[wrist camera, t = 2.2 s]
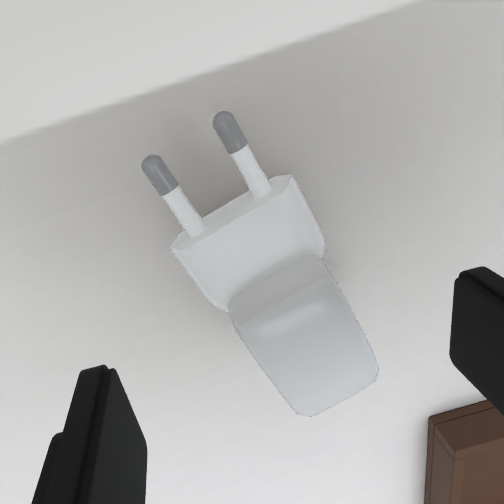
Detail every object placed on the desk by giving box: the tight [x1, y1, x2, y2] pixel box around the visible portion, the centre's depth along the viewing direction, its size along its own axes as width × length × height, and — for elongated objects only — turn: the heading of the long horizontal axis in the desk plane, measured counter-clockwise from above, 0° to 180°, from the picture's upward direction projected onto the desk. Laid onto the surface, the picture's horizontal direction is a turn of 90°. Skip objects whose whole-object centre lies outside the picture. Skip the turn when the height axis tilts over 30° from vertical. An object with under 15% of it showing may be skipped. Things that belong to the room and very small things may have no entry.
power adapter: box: [141, 111, 379, 417], centre depth 15 cm, size 11×5×6 cm, turn 29°
